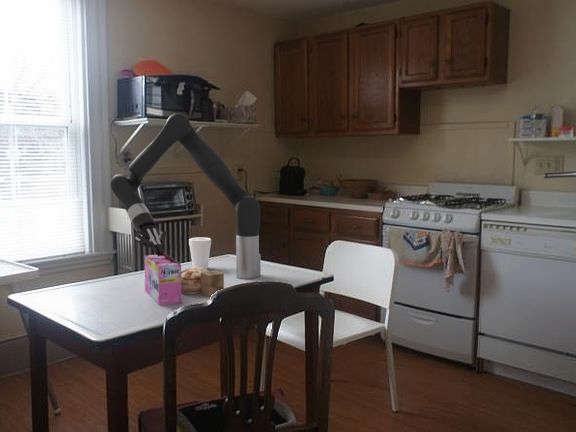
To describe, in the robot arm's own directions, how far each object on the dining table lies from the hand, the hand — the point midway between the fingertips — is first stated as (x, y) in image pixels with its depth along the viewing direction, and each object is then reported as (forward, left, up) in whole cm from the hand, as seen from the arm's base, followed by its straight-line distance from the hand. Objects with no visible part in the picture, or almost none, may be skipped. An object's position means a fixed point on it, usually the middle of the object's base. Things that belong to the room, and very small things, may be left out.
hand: (161, 254), depth 195 cm
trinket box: (-13, 0, -14) cm, 19 cm away
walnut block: (-16, +10, -14) cm, 24 cm away
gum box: (+1, +5, -14) cm, 15 cm away
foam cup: (-25, -34, -14) cm, 44 cm away
